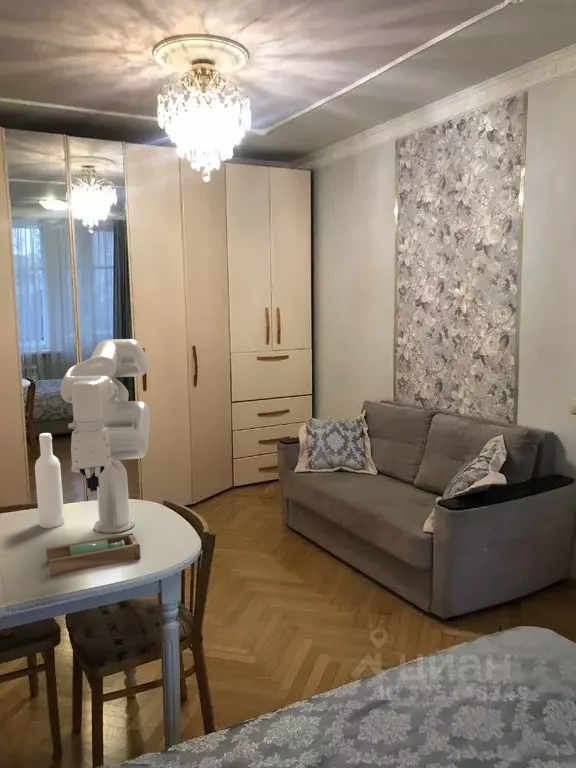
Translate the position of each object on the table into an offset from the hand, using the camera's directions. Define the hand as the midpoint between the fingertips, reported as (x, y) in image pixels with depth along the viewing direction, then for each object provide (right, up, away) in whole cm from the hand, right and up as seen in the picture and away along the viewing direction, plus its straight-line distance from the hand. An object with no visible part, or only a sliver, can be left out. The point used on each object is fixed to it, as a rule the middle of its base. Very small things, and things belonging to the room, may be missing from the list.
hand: (93, 489), depth 176 cm
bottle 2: (-6, -18, 0) cm, 19 cm away
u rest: (-1, -20, +2) cm, 20 cm away
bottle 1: (-23, -16, +31) cm, 42 cm away
